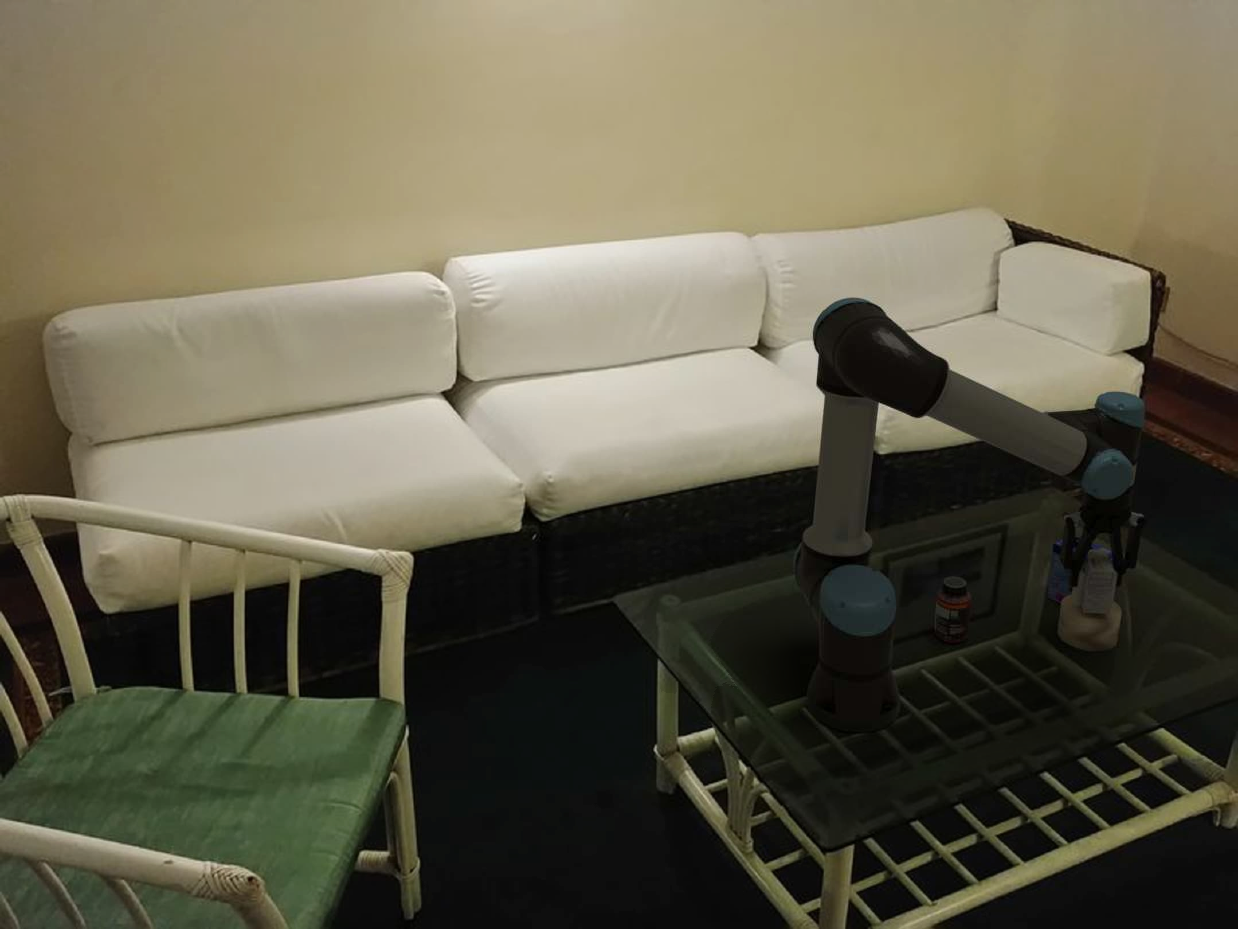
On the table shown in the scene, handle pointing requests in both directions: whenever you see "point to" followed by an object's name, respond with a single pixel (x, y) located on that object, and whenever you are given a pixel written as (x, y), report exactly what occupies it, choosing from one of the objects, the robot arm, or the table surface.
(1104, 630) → the birch riser
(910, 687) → the table surface
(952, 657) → the table surface
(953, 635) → the supplement bottle
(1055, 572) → the ink cartridge box
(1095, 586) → the medicine box
